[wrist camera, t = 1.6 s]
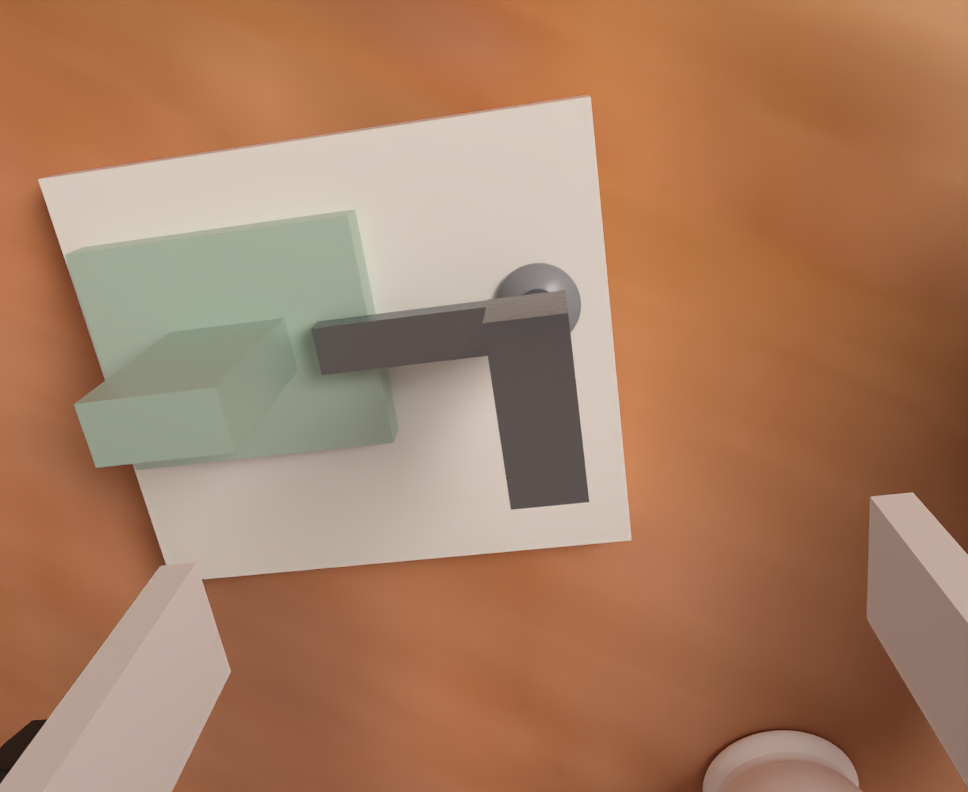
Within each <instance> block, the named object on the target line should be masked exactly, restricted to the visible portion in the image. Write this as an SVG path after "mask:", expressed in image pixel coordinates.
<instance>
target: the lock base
mask: <svg viewBox="0 0 968 792" xmlns="http://www.w3.org/2000/svg"><path fill="white" fill-rule="evenodd" d="M38 181H39V184H40V187H41V190H42V193H43V196H44V199H45V202H46V205H47V208H48V211H49V214H50V217H51V220H52V223H53V226H54V229H55V232H56V235H57V238H58V241H59V244H60V247H61V250H62V253H63V256H64V259H65V262H66V265H67V268H68V271H69V274H70V277H71V280H72V283H73V286H74V289H75V292H76V295H77V298H78V301H79V304H80V307H81V310H82V313H83V316H84V319H85V322H86V325H87V328H88V331H89V334H90V337H91V340H92V343H93V346H94V349H95V352H96V355H97V358H98V361H99V364H100V367H101V370H102V373H103V376H104V379H105V380H106V377H105V374H104V371H103V368H102V365H101V362H100V359H99V356H98V353H97V350H96V347H95V344H94V341H93V338H92V335H91V332H90V329H89V326H88V323H87V320H86V317H85V314H84V311H83V308H82V305H81V302H80V299H79V296H78V293H77V290H76V287H75V284H74V281H73V278H72V275H71V272H70V269H69V265H68V262H67V259H66V256H65V254H68V253H70V252H72V251H75V250H77V249H80V248H82V247H87V246H94V245H102V244H109V243H116V242H123V241H130V240H137V239H145V238H152V237H159V236H166V235H173V234H181V233H188V232H195V231H202V230H209V229H216V228H224V227H231V226H238V225H245V224H252V223H260V222H267V221H274V220H281V219H288V218H295V217H303V216H310V215H317V214H324V213H331V212H338V211H346V210H353V209H355V211H356V216H357V221H358V226H359V231H360V236H361V241H362V246H363V251H364V257H365V262H366V267H367V272H368V277H369V282H370V287H371V292H372V297H373V302H374V307H375V312H376V314H381V313H389V312H397V311H405V310H413V309H421V308H429V307H437V306H445V305H453V304H461V303H469V302H477V301H485V300H489V299H497V298H505V297H513V296H521V295H525V294H526V293H527V292H528V291H530V290H533V289H544V290H546V291H548V292H553V291H561V290H566V298H567V307H568V316H569V325H570V334H571V343H572V352H573V360H574V369H575V378H576V387H577V396H578V405H579V414H580V423H581V432H582V441H583V450H584V459H585V468H586V477H587V486H588V495H589V502H586V503H575V504H565V505H555V506H544V507H534V508H524V509H513V510H511V507H510V500H509V494H508V487H507V480H506V474H505V467H504V461H503V454H502V447H501V441H500V434H499V427H498V421H497V414H496V408H495V401H494V394H493V388H492V381H491V374H490V368H489V361H488V356H482V357H473V358H465V359H456V360H448V361H439V362H430V363H422V364H413V365H405V366H396V367H388V368H387V372H388V377H389V382H390V387H391V392H392V397H393V402H394V407H395V412H396V417H397V423H398V428H399V429H398V432H397V435H396V437H395V440H394V443H387V444H377V445H368V446H359V447H349V448H340V449H331V450H321V451H312V452H303V453H293V454H284V455H275V456H265V457H256V458H247V459H237V460H228V461H219V462H209V463H200V464H191V465H181V466H172V467H163V468H153V469H144V470H136V468H135V465H134V464H133V467H134V470H135V473H136V476H137V479H138V482H139V485H140V488H141V491H142V494H143V497H144V500H145V503H146V506H147V509H148V512H149V515H150V518H151V521H152V524H153V527H154V530H155V533H156V536H157V539H158V542H159V545H160V548H161V551H162V554H163V557H164V560H165V563H166V565H174V564H184V563H194V562H196V563H197V566H198V569H199V573H200V576H201V579H213V578H224V577H235V576H246V575H257V574H268V573H279V572H290V571H301V570H312V569H323V568H334V567H345V566H356V565H367V564H378V563H389V562H400V561H411V560H422V559H433V558H444V557H455V556H466V555H477V554H487V553H498V552H509V551H520V550H531V549H542V548H553V547H564V546H575V545H586V544H597V543H608V542H619V541H630V540H631V529H630V518H629V507H628V496H627V485H626V474H625V464H624V453H623V442H622V431H621V420H620V409H619V399H618V388H617V377H616V366H615V355H614V344H613V334H612V323H611V312H610V301H609V290H608V279H607V268H606V258H605V247H604V236H603V225H602V214H601V203H600V193H599V182H598V171H597V160H596V149H595V138H594V128H593V117H592V106H591V96H589V95H581V96H575V97H568V98H561V99H555V100H548V101H541V102H535V103H528V104H521V105H515V106H508V107H501V108H495V109H488V110H481V111H475V112H468V113H461V114H455V115H448V116H441V117H435V118H428V119H421V120H415V121H408V122H401V123H395V124H388V125H381V126H375V127H368V128H361V129H355V130H348V131H341V132H335V133H328V134H321V135H315V136H308V137H301V138H295V139H288V140H281V141H275V142H268V143H261V144H255V145H248V146H241V147H235V148H228V149H221V150H215V151H208V152H201V153H195V154H188V155H181V156H175V157H168V158H161V159H155V160H148V161H141V162H135V163H128V164H121V165H115V166H108V167H101V168H95V169H88V170H82V171H75V172H68V173H62V174H58V175H54V176H50V177H45V178H41V179H38Z"/></svg>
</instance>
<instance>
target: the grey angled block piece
mask: <svg viewBox="0 0 968 792" xmlns="http://www.w3.org/2000/svg"><path fill="white" fill-rule="evenodd" d="M311 330H312V335H313V339H314V343H315V348H316V352H317V356H318V361H319V365H320V369H321V374H322V375H328V374H337V373H345V372H354V371H362V370H371V369H379V368H388V367H396V366H405V365H413V364H422V363H430V362H439V361H448V360H456V359H465V358H473V357H482V356H488V361H489V368H490V374H491V381H492V388H493V394H494V401H495V408H496V414H497V421H498V427H499V434H500V441H501V447H502V454H503V461H504V467H505V474H506V480H507V487H508V494H509V500H510V507H511V510H513V509H524V508H534V507H544V506H555V505H565V504H575V503H586V502H589V495H588V486H587V477H586V468H585V459H584V450H583V441H582V432H581V423H580V414H579V405H578V396H577V387H576V378H575V369H574V360H573V352H572V343H571V334H570V325H569V316H568V307H567V298H566V290H561V291H553V292H548V291H546V290H544V289H533V290H530V291H528V292H527V293H526V294H525V295H521V296H513V297H505V298H497V299H489V300H485V301H477V302H469V303H461V304H453V305H445V306H437V307H429V308H421V309H413V310H405V311H397V312H389V313H381V314H373V315H365V316H357V317H349V318H341V319H333V320H325V321H317V322H316V324H315V325H314V326H313V327H312V328H311Z"/></svg>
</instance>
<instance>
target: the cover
mask: <svg viewBox="0 0 968 792" xmlns="http://www.w3.org/2000/svg"><path fill="white" fill-rule="evenodd" d="M65 256H66V259H67V262H68V265H69V269H70V272H71V275H72V278H73V281H74V284H75V287H76V290H77V293H78V296H79V299H80V302H81V305H82V308H83V311H84V314H85V317H86V320H87V323H88V326H89V329H90V332H91V335H92V338H93V341H94V344H95V347H96V350H97V353H98V356H99V359H100V362H101V365H102V368H103V371H104V374H105V377H106V380H105V381H104V382H103V383H101V384H100V385H99V386H97V387H96V388H95V389H93V390H92V391H91V392H89V393H88V394H87V395H85V396H84V397H82V398H81V399H80V400H78V401H77V402H76V403H74V407H75V410H76V412H77V415H78V418H79V421H80V424H81V427H82V430H83V432H84V435H85V438H86V441H87V444H88V447H89V450H90V452H91V455H92V458H93V461H94V464H95V467H96V468H99V467H108V466H117V465H127V464H134V465H135V468H136V470H144V469H153V468H163V467H172V466H181V465H191V464H200V463H209V462H219V461H228V460H237V459H247V458H256V457H265V456H275V455H284V454H293V453H303V452H312V451H321V450H331V449H340V448H349V447H359V446H368V445H377V444H387V443H394V440H395V437H396V435H397V432H398V429H399V428H398V423H397V417H396V412H395V407H394V402H393V397H392V392H391V387H390V382H389V377H388V372H387V368H379V369H371V370H362V371H354V372H345V373H337V374H328V375H322V374H321V369H320V365H319V361H318V356H317V352H316V348H315V343H314V339H313V335H312V330H311V328H312V327H313V326H314V325H315V324H316V322H317V321H325V320H333V319H341V318H349V317H357V316H365V315H373V314H376V312H375V307H374V302H373V297H372V292H371V287H370V282H369V277H368V272H367V267H366V262H365V257H364V251H363V246H362V241H361V236H360V231H359V226H358V221H357V216H356V211H355V209H353V210H346V211H338V212H331V213H324V214H317V215H310V216H303V217H295V218H288V219H281V220H274V221H267V222H260V223H252V224H245V225H238V226H231V227H224V228H216V229H209V230H202V231H195V232H188V233H181V234H173V235H166V236H159V237H152V238H145V239H137V240H130V241H123V242H116V243H109V244H102V245H94V246H87V247H82V248H80V249H77V250H75V251H72V252H70V253H68V254H65Z"/></svg>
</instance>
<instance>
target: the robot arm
mask: <svg viewBox="0 0 968 792" xmlns="http://www.w3.org/2000/svg"><path fill="white" fill-rule="evenodd" d="M867 620H868V622H869V624H870V626H871V627H872V629H873V631H874V632H875V634H876V636H877V637H878V639H879V641H880V642H881V644H882V646H883V647H884V649H885V651H886V652H887V654H888V656H889V657H890V659H891V661H892V662H893V664H894V666H895V667H896V669H897V671H898V672H899V674H900V676H901V677H902V679H903V681H904V682H905V684H906V686H907V687H908V689H909V691H910V692H911V694H912V696H913V697H914V699H915V701H916V703H917V704H918V706H919V708H920V709H921V711H922V713H923V714H924V716H925V718H926V719H927V721H928V723H929V724H930V726H931V728H932V729H933V731H934V733H935V734H936V736H937V738H938V739H939V741H940V743H941V744H942V746H943V748H944V749H945V751H946V753H947V754H948V756H949V758H950V759H951V761H952V763H953V764H954V766H955V768H956V769H957V771H958V773H959V774H960V776H961V778H962V779H963V781H964V783H965V785H966V786H967V788H968V554H967V553H966V552H965V551H964V550H963V549H962V548H961V546H960V545H959V544H958V543H957V542H956V541H955V540H954V538H953V537H952V536H951V535H950V534H949V533H948V532H947V531H946V529H945V528H944V527H943V526H942V525H941V524H940V523H939V521H938V520H937V519H936V518H935V517H934V516H933V515H932V513H931V512H930V511H929V510H928V509H927V508H926V507H925V505H924V504H923V503H922V502H921V501H920V500H919V499H918V498H917V496H916V495H915V494H914V493H913V492H912V493H901V494H891V495H881V496H871V497H870V514H869V549H868V584H867ZM230 673H231V670H230V667H229V664H228V661H227V658H226V654H225V651H224V648H223V645H222V642H221V639H220V636H219V632H218V629H217V626H216V623H215V620H214V617H213V614H212V610H211V607H210V604H209V601H208V598H207V595H206V591H205V588H204V585H203V582H202V579H201V576H200V573H199V569H198V566H197V563H196V562H194V563H184V564H174V565H164V566H160V567H159V568H158V570H157V571H156V572H155V574H154V575H153V576H152V578H151V579H150V580H149V582H148V583H147V585H146V586H145V587H144V589H143V590H142V591H141V593H140V594H139V595H138V597H137V598H136V600H135V601H134V602H133V604H132V605H131V606H130V608H129V609H128V610H127V612H126V613H125V615H124V616H123V617H122V619H121V620H120V621H119V623H118V624H117V625H116V627H115V628H114V630H113V631H112V632H111V634H110V635H109V636H108V638H107V639H106V640H105V642H104V643H103V645H102V646H101V647H100V649H99V650H98V651H97V653H96V654H95V655H94V657H93V658H92V660H91V661H90V662H89V664H88V665H87V666H86V668H85V669H84V670H83V672H82V673H81V675H80V676H79V677H78V679H77V680H76V681H75V683H74V684H73V685H72V687H71V688H70V690H69V691H68V692H67V694H66V695H65V696H64V698H63V699H62V700H61V702H60V703H59V705H58V706H57V707H56V709H55V710H54V711H53V713H52V714H51V715H50V717H49V718H48V719H46V720H33V721H31V722H30V723H29V724H28V725H26V726H25V727H24V728H23V729H22V730H20V731H19V732H18V733H17V734H16V735H14V736H13V737H12V738H11V739H9V740H8V741H7V742H6V743H5V744H3V746H2V747H1V748H0V792H172V791H173V789H174V786H175V784H176V782H177V780H178V778H179V776H180V774H181V772H182V770H183V768H184V766H185V764H186V762H187V760H188V758H189V756H190V754H191V752H192V750H193V748H194V746H195V744H196V742H197V740H198V738H199V736H200V734H201V732H202V730H203V727H204V725H205V723H206V721H207V719H208V717H209V715H210V713H211V711H212V709H213V707H214V705H215V703H216V701H217V699H218V697H219V695H220V693H221V691H222V689H223V687H224V685H225V683H226V681H227V679H228V677H229V675H230Z"/></svg>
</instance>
